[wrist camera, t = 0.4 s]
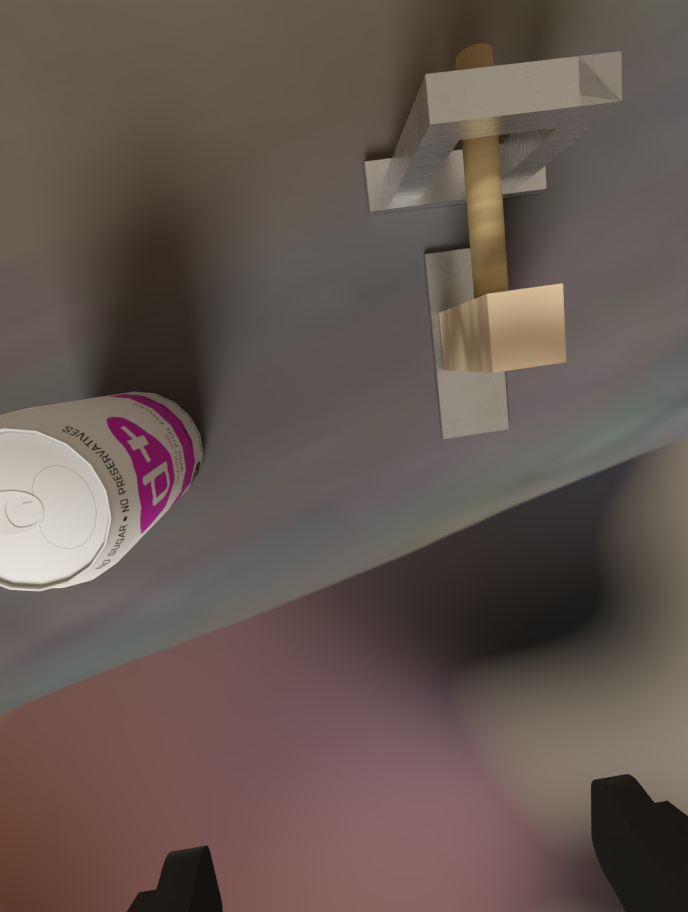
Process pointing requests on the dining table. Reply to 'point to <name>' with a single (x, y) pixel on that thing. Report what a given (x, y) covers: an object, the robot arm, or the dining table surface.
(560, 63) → the white stand
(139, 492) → the supplement can
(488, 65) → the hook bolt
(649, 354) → the dining table surface
